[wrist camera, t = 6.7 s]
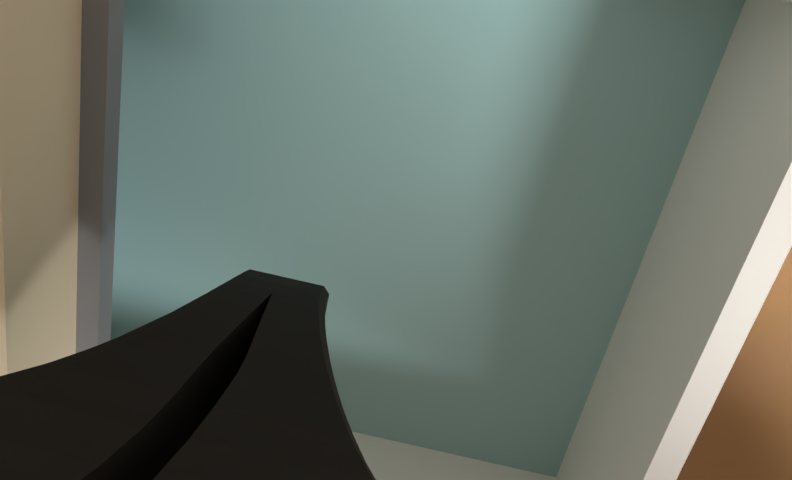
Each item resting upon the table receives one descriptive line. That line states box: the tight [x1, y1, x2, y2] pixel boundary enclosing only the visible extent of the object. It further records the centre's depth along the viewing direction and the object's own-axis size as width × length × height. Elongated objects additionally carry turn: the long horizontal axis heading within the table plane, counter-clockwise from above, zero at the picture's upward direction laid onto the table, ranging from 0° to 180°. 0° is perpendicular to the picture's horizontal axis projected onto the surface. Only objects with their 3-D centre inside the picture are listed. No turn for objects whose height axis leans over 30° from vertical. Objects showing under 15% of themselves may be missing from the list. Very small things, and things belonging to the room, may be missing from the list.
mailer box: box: [110, 0, 792, 480], centre depth 15 cm, size 14×18×5 cm
